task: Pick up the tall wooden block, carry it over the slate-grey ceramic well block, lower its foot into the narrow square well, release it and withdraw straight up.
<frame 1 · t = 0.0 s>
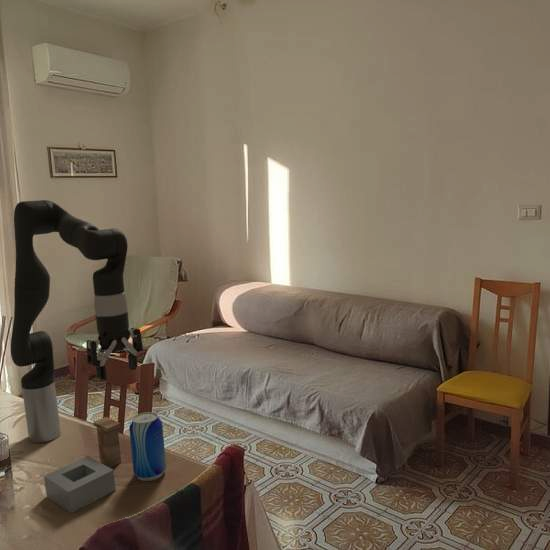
hand: (118, 374, 133), 29 cm above the table, fingers open, 8 cm apart
tall wooden block: (111, 463, 148), on the table
beer can: (150, 474, 142), on the table
well block: (81, 493, 134), on the table
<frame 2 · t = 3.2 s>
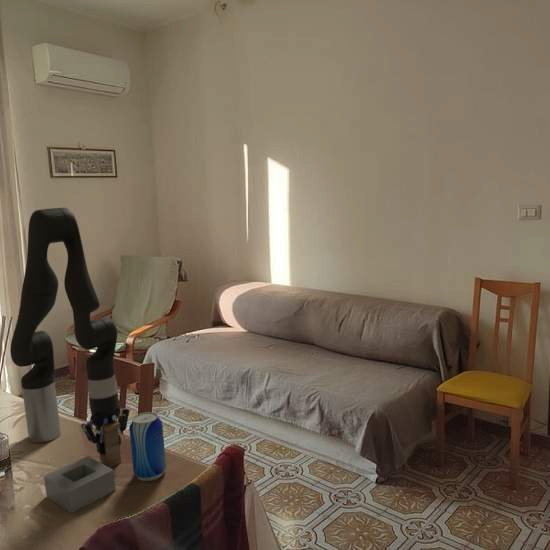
hand: (109, 450, 148), 4 cm above the table, fingers closed on tall wooden block, 4 cm apart
tall wooden block: (111, 462, 148), on the table, touching gripper
everything else where it was.
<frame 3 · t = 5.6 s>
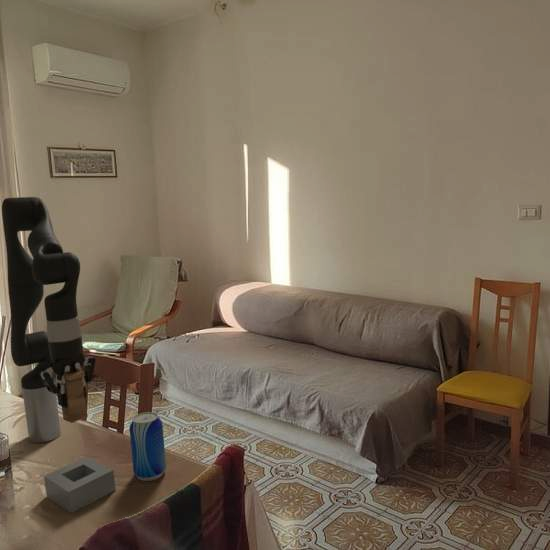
hand: (72, 403, 131), 24 cm above the table, fingers closed on tall wooden block, 4 cm apart
tall wooden block: (75, 418, 131), point 20 cm above the table, touching gripper
everything else where it was.
when the fingers open (7 cm above the table, at t = 8.4 s): tall wooden block drops 2 cm, resting on well block.
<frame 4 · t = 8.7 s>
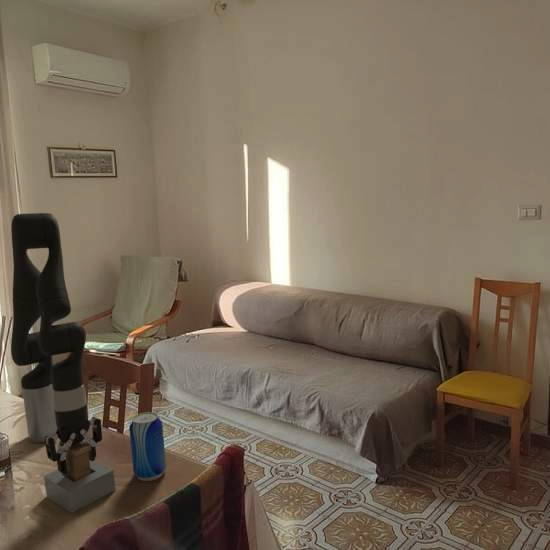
hand: (78, 466, 133), 7 cm above the table, fingers open, 7 cm apart
tall wooden block: (80, 489, 134), point 1 cm above the table, touching well block
everything else where it was.
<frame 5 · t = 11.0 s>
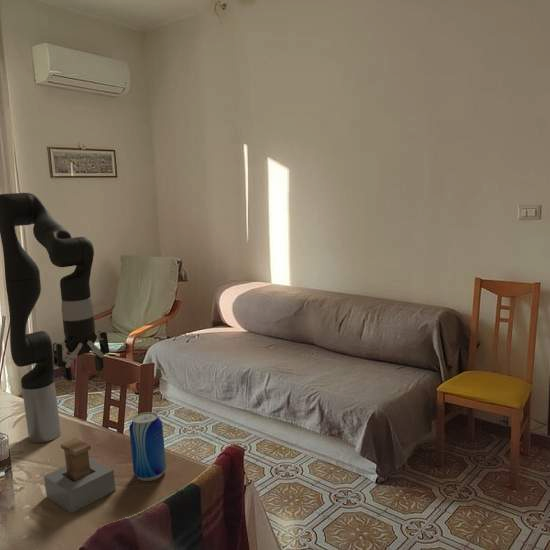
hand: (84, 375, 140), 27 cm above the table, fingers open, 8 cm apart
nothing on the table moved.
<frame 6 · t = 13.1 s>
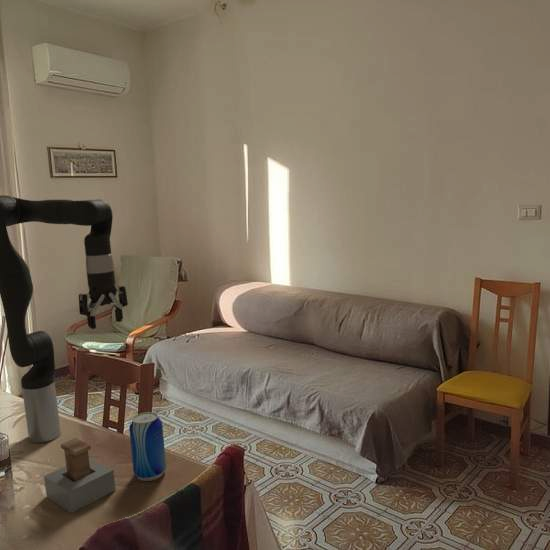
hand: (106, 324, 155), 36 cm above the table, fingers open, 8 cm apart
nothing on the table moved.
at the end: tall wooden block 0.0 cm off-centre on the well block, point 1.0 cm above the well block's base; tall wooden block tilted 0°; the gripper is holding nothing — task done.
